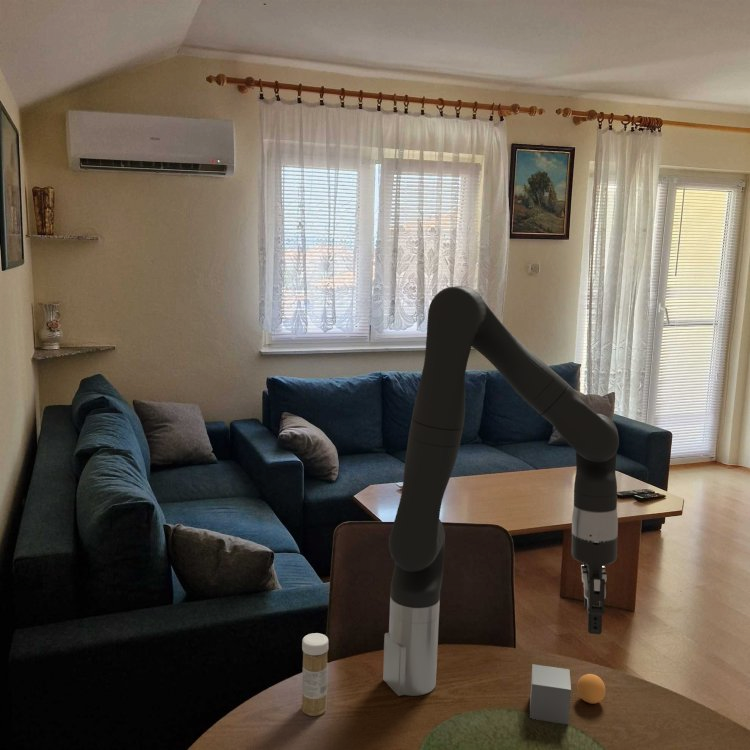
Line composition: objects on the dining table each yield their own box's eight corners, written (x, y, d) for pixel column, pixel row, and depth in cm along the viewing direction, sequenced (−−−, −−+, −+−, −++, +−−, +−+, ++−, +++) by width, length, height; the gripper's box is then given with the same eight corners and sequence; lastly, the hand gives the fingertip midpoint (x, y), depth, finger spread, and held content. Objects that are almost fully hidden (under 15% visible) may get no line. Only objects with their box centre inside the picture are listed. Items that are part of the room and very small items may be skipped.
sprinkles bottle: (314, 698, 131) (316, 629, 129) (332, 709, 128) (333, 638, 126) (295, 709, 128) (296, 638, 126) (313, 720, 125) (314, 648, 123)
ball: (589, 712, 130) (591, 686, 129) (570, 697, 134) (572, 672, 133) (610, 705, 132) (612, 679, 131) (590, 690, 136) (592, 666, 136)
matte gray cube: (568, 724, 126) (571, 689, 125) (529, 718, 127) (532, 683, 126) (566, 702, 132) (569, 669, 131) (530, 697, 134) (532, 664, 133)
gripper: (569, 517, 131) (568, 601, 133) (574, 545, 117) (572, 639, 120) (613, 519, 130) (610, 604, 132) (622, 548, 116) (619, 643, 118)
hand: (592, 621), depth 126 cm, fingers open, 8 cm apart
